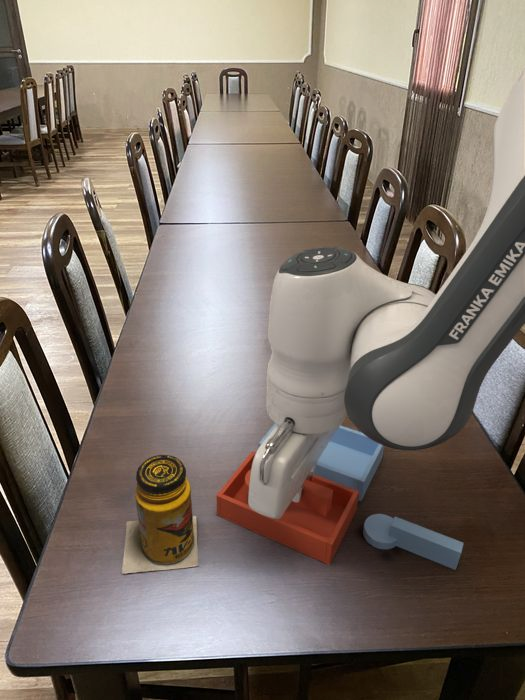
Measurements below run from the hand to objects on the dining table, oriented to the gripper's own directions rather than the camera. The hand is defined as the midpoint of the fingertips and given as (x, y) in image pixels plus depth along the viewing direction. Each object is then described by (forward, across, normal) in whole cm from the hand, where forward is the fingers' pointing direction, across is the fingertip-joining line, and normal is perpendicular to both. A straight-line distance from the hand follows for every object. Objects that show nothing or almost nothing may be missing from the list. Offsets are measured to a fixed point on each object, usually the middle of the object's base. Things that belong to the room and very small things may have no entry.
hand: (299, 488), depth 65 cm
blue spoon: (+5, +2, -14) cm, 15 cm away
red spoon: (+2, 0, +2) cm, 2 cm away
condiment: (+5, -12, +12) cm, 18 cm away
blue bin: (+5, +11, +1) cm, 12 cm away
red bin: (+5, 0, +1) cm, 5 cm away
